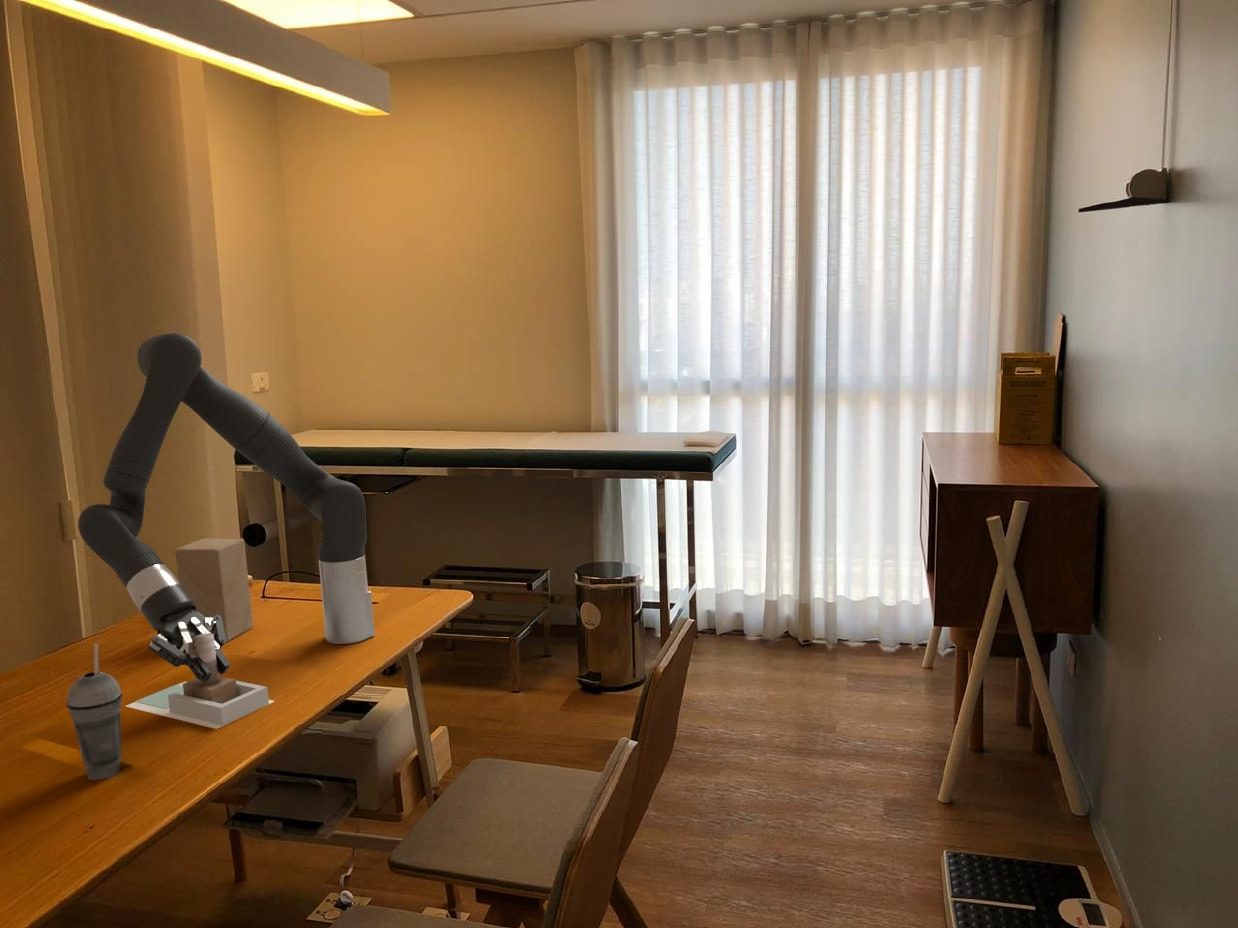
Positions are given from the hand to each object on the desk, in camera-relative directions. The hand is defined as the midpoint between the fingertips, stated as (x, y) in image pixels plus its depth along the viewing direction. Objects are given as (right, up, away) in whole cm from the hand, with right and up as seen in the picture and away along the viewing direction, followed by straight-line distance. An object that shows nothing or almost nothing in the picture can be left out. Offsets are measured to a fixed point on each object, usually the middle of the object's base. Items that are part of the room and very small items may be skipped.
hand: (216, 674), depth 163 cm
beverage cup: (-9, -11, -18) cm, 23 cm away
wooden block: (-18, -1, +45) cm, 49 cm away
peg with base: (-2, -6, +2) cm, 6 cm away
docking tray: (-4, -7, +3) cm, 9 cm away
